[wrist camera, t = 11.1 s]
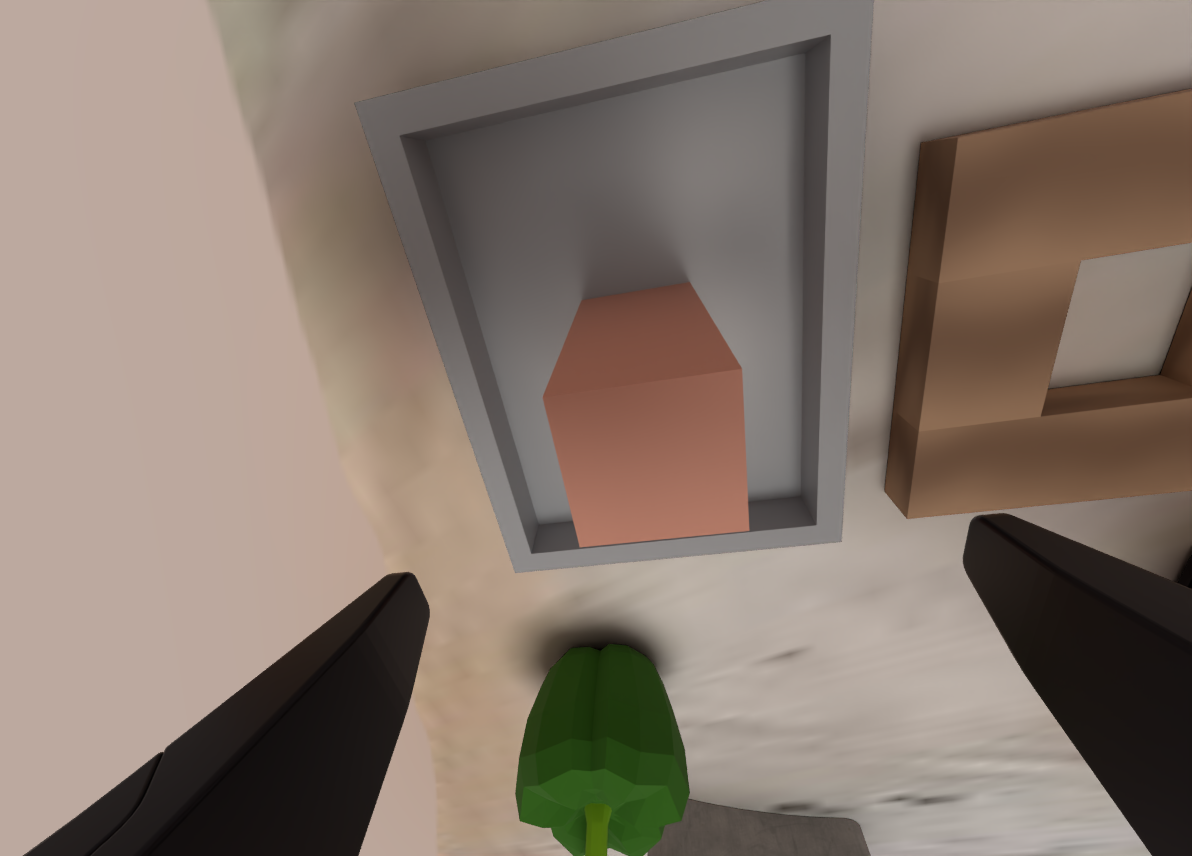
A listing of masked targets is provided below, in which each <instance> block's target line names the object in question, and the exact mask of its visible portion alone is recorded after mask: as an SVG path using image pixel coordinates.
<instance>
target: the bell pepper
mask: <svg viewBox="0 0 1192 856" xmlns="http://www.w3.org/2000/svg"><path fill="white" fill-rule="evenodd" d="M689 793H690V791H689V782H688V774H687V765H686V757H685V749H684V745H683V742H682V739H681V735H680V732H679V729H678V726H677V722H676V719H675V716H674V712H673V709H672V706H671V704H670V701H669V698H668V695H667V693H666V690H665V687H664V684H663V682H662V680H661V678H660V676H659V674H658V672H657V670H656V668H655V666H654V664H653V663H652V662H651V661H650V660H649V659H648V658H647V657H646V656H645V655H643V654H641V653H640V652H638V651H636V650H634V649H632V648H631V647H629V646H627V645H616V644H608V645H607V646H606V647H605V648H603V649H602V650H601V651H599V650H596V649H594V648H591V647H579V648H570V649H569V651H568V652H567V653H566V654H565V655H564V656H563V657H562V658H561V659H560V660H559V661H558V662H557V663H556V664H555V665H554V666H552V667H551V669H550V670H549V672H548V674H547V676H546V678H545V680H544V682H543V684H542V686H541V688H540V691H539V693H538V695H537V698H536V700H535V703H534V705H533V707H532V710H531V712H530V714H529V717H528V719H527V724H526V728H525V733H524V738H523V743H522V747H521V752H520V757H519V765H518V774H517V784H516V793H515V794H516V801H517V807H518V813H519V819H520V821H521V822H525V823H528V824H531V825H535V826H538V827H542V828H551V829H552V833H553V836H554V837H555V838H556V839H557V840H558V841H559V842H560V843H561V844H562V845H563V846H564V847H565V848H566V849H567V850H568V851H569V852H570V853H571V854H572V855H573V856H584V855H585V856H607V849H608V848H612V849H614V850H616V851H619V852H621V853H623V854H625V855H628V856H643V855H645V854H646V853H647V852H648V851H649V850H650V849H651V848H652V847H653V846H654V845H656V844H657V843H658V842H659V841H660V840H661V838H662V835H663V831H664V827H665V825H668V824H672V823H676V822H680V821H682V817H683V814H684V811H685V807H686V804H687V800H688V797H689Z"/></svg>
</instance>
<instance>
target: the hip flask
mask: <svg viewBox="0 0 1192 856" xmlns="http://www.w3.org/2000/svg"><path fill="white" fill-rule="evenodd" d="M648 856H871V855H870V853H869V850H868V847H867V844H866V841H865V839H864V836H863V833H862V830H861V827H860V825H859V824H858V823H857V822H855V821H853V820H850V819H846V818H822V817H805V816H792V815H782V814H773V813H765V812H757V811H750V810H743V809H736V808H730V807H724V806H719V805H714V804H709V803H704V802H699V801H695V800H691V799H688V800H687V804H686V807H685V811H684V814H683V817H682V821H680V822H676V823H672V824H668V825H665V827H664V831H663V835H662V838H661V840H660V841H659V842H658V843H657V844H656V845H654V846H653V847H652V848H651V849H650V850H649V851H648Z"/></svg>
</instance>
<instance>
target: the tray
mask: <svg viewBox="0 0 1192 856" xmlns="http://www.w3.org/2000/svg"><path fill="white" fill-rule="evenodd" d="M873 5H874V0H767V1H763V2H759V3H755V4H750V5H746V6H742V7H738V8H734V9H730V10H726V11H722V12H718V13H714V14H710V15H706V16H702V17H698V18H694V19H690V20H686V21H682V22H678V23H674V24H670V25H666V26H662V27H658V28H654V29H650V30H646V31H642V32H638V33H634V34H630V35H625V36H621V37H617V38H613V39H609V40H605V41H601V42H597V43H593V44H589V45H585V46H581V47H577V48H573V49H569V50H565V51H561V52H557V53H553V54H549V55H545V56H541V57H537V58H533V59H529V60H525V61H521V62H517V63H513V64H509V65H505V66H500V67H496V68H492V69H488V70H484V71H480V72H476V73H472V74H468V75H464V76H460V77H456V78H452V79H448V80H444V81H440V82H436V83H432V84H428V85H424V86H420V87H416V88H412V89H408V90H404V91H400V92H396V93H392V94H388V95H384V96H380V97H375V98H371V99H367V100H363V101H359V102H355V103H354V104H355V107H356V110H357V113H358V115H359V118H360V121H361V124H362V127H363V130H364V133H365V136H366V139H367V142H368V145H369V148H370V150H371V153H372V156H373V159H374V162H375V165H376V168H377V171H378V174H379V177H380V180H381V183H382V186H383V188H384V191H385V194H386V197H387V200H388V203H389V206H390V209H391V212H392V215H393V218H394V221H395V223H396V226H397V229H398V232H399V235H400V238H401V241H402V244H403V247H404V250H405V253H406V256H407V259H408V261H409V264H410V267H411V270H412V273H413V276H414V279H415V282H416V285H417V288H418V291H419V294H420V296H421V299H422V302H423V305H424V308H425V311H426V314H427V317H428V320H429V323H430V326H431V329H432V331H433V334H434V337H435V340H436V343H437V346H438V349H439V352H440V355H441V358H442V361H443V364H444V367H445V369H446V372H447V375H448V378H449V381H450V384H451V387H452V390H453V393H454V396H455V399H456V402H457V404H458V407H459V410H460V413H461V416H462V419H463V422H464V425H465V428H466V431H467V434H468V437H469V440H470V442H471V445H472V448H473V451H474V454H475V457H476V460H477V463H478V466H479V469H480V472H481V475H482V477H483V480H484V483H485V486H486V489H487V492H488V495H489V498H490V501H491V504H492V507H493V510H494V512H495V515H496V518H497V521H498V524H499V527H500V530H501V533H502V536H503V539H504V542H505V545H506V548H507V550H508V553H509V556H510V559H511V562H512V565H513V568H514V571H515V573H521V572H531V571H542V570H552V569H563V568H573V567H584V566H594V565H605V564H615V563H626V562H636V561H647V560H657V559H668V558H678V557H689V556H699V555H710V554H720V553H731V552H741V551H752V550H762V549H773V548H783V547H794V546H804V545H815V544H825V543H836V542H842V525H843V508H844V491H845V474H846V458H847V441H848V424H849V407H850V391H851V374H852V357H853V340H854V323H855V307H856V290H857V273H858V256H859V240H860V223H861V206H862V189H863V172H864V156H865V139H866V122H867V105H868V89H869V72H870V55H871V38H872V21H873ZM687 282H690V283H691V285H692V286H693V288H694V290H695V291H696V293H697V295H698V296H699V298H700V300H701V301H702V303H703V305H704V306H705V308H706V309H707V311H708V313H709V314H710V316H711V318H712V319H713V321H714V323H715V324H716V326H717V328H718V329H719V331H720V333H721V334H722V336H723V338H724V339H725V341H726V343H727V344H728V346H729V348H730V349H731V351H732V353H733V354H734V356H735V358H736V359H737V361H738V363H739V364H740V366H741V368H742V375H743V398H744V420H745V443H746V465H747V488H748V510H749V531H743V532H732V533H722V534H712V535H702V536H691V537H681V538H671V539H661V540H651V541H640V542H630V543H620V544H610V545H599V546H589V547H580V546H579V542H578V538H577V534H576V530H575V526H574V522H573V518H572V514H571V510H570V506H569V502H568V498H567V494H566V490H565V486H564V482H563V478H562V474H561V470H560V466H559V462H558V458H557V454H556V450H555V446H554V442H553V438H552V434H551V430H550V426H549V422H548V418H547V414H546V410H545V406H544V402H543V398H542V397H543V395H544V392H545V390H546V387H547V385H548V382H549V380H550V377H551V375H552V372H553V370H554V367H555V365H556V362H557V360H558V357H559V355H560V352H561V350H562V347H563V345H564V342H565V340H566V337H567V335H568V332H569V330H570V328H571V325H572V323H573V320H574V318H575V315H576V313H577V310H578V308H579V305H580V303H581V300H586V299H592V298H598V297H604V296H610V295H616V294H622V293H628V292H634V291H640V290H645V289H651V288H657V287H663V286H669V285H675V284H681V283H687Z"/></svg>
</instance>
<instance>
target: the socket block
mask: <svg viewBox="0 0 1192 856" xmlns="http://www.w3.org/2000/svg"><path fill="white" fill-rule="evenodd" d="M1185 243H1192V89H1187V90H1182V91H1177V92H1172V93H1167V94H1162V95H1157V96H1152V97H1147V98H1142V99H1137V100H1132V101H1127V102H1122V103H1117V104H1112V105H1107V106H1102V107H1097V108H1092V109H1087V110H1082V111H1077V112H1072V113H1067V114H1062V115H1057V116H1052V117H1047V118H1042V119H1037V120H1032V121H1027V122H1022V123H1017V124H1012V125H1007V126H1002V127H997V128H992V129H987V130H982V131H977V132H972V133H967V134H962V135H957V136H952V137H947V138H942V139H937V140H932V141H927V142H922V143H921V148H920V158H919V167H918V177H917V187H916V196H915V206H914V215H913V225H912V234H911V244H910V253H909V263H908V272H907V282H906V292H905V301H904V311H903V320H902V330H901V339H900V349H899V358H898V368H897V378H896V387H895V397H894V406H893V416H892V425H891V435H890V444H889V454H888V463H887V473H886V483H885V493H886V494H887V495H888V496H889V498H890V499H891V500H892V501H893V502H894V504H895V505H896V506H897V507H898V509H899V510H900V511H901V512H902V513H903V515H904V516H905V517H906V518H907V519H911V518H921V517H931V516H942V515H952V514H962V513H972V512H982V511H992V510H1002V509H1012V508H1022V507H1032V506H1042V505H1052V504H1062V503H1072V502H1082V501H1092V500H1102V499H1112V498H1122V497H1132V496H1142V495H1152V494H1162V493H1172V492H1182V491H1192V290H1191V292H1190V295H1189V298H1188V301H1187V303H1186V306H1185V309H1184V312H1183V314H1182V317H1181V320H1180V322H1179V325H1178V328H1177V331H1176V333H1175V336H1174V339H1173V341H1172V344H1171V347H1170V350H1169V352H1168V355H1167V358H1166V361H1165V363H1164V366H1163V369H1162V371H1161V374H1160V375H1155V376H1148V377H1140V378H1132V379H1125V380H1117V381H1109V382H1101V383H1094V384H1086V385H1078V386H1071V387H1063V388H1055V389H1048V386H1049V382H1050V378H1051V374H1052V371H1053V367H1054V363H1055V359H1056V355H1057V351H1058V347H1059V344H1060V340H1061V336H1062V332H1063V328H1064V324H1065V320H1066V316H1067V313H1068V309H1069V305H1070V301H1071V297H1072V293H1073V289H1074V285H1075V282H1076V278H1077V274H1078V270H1079V266H1080V262H1081V260H1086V259H1093V258H1099V257H1105V256H1111V255H1117V254H1123V253H1130V252H1136V251H1142V250H1148V249H1154V248H1161V247H1167V246H1173V245H1179V244H1185Z"/></svg>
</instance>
